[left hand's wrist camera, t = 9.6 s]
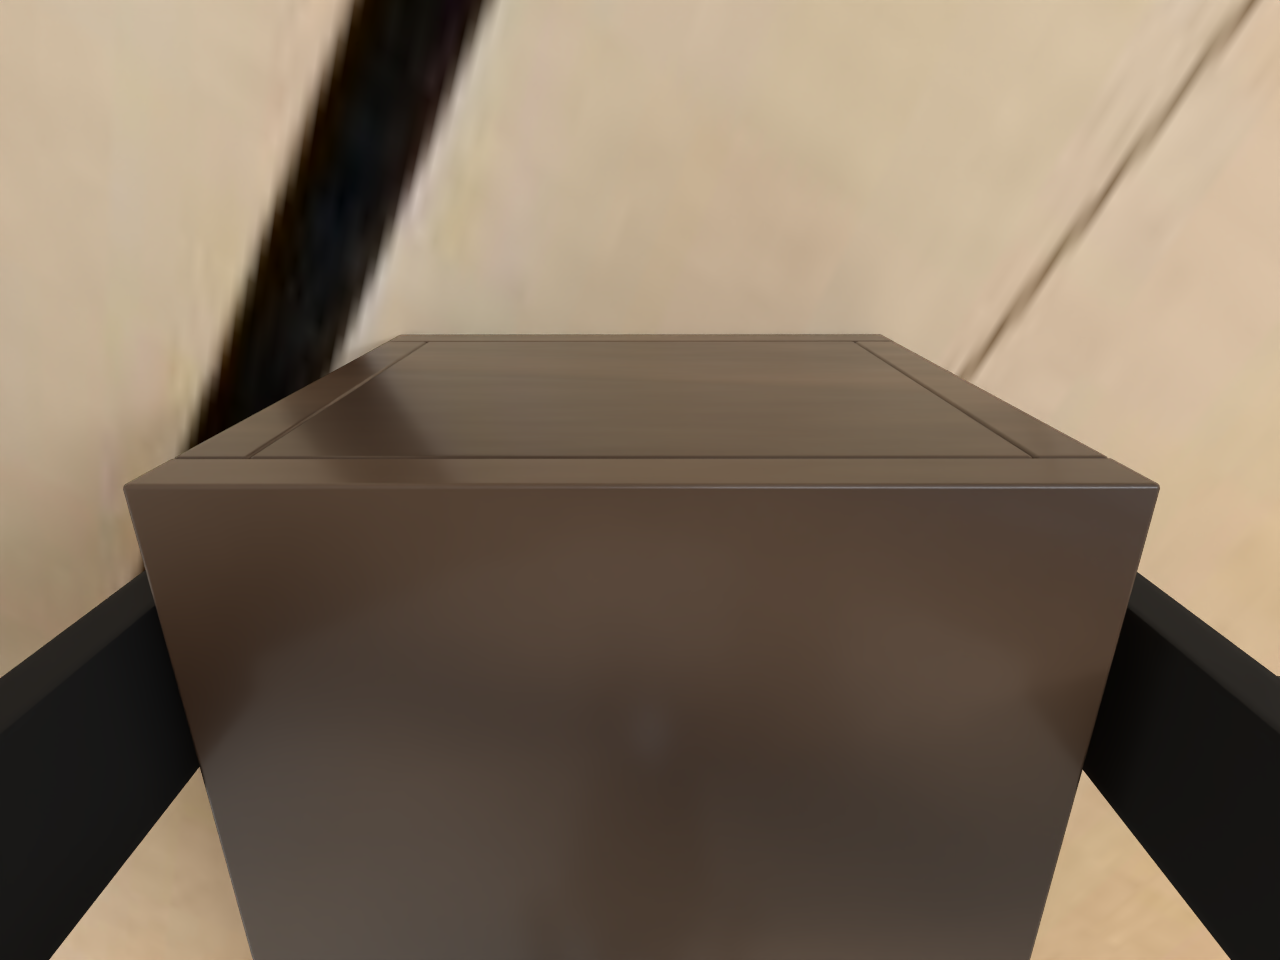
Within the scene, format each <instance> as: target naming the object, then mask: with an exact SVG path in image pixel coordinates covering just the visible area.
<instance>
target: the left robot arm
mask: <svg viewBox="0 0 1280 960" xmlns="http://www.w3.org/2000/svg"><path fill="white" fill-rule="evenodd" d="M199 767H200V766H199V762H198V758H197V755H196V751H195V747H194V744H193V740H192V737H191V733H190V729H189V726H188V722H187V718H186V715H185V711H184V708H183V704H182V700H181V697H180V693H179V689H178V686H177V682H176V678H175V675H174V671H173V668H172V664H171V660H170V657H169V653H168V649H167V646H166V642H165V639H164V635H163V631H162V628H161V624H160V620H159V617H158V613H157V610H156V606H155V602H154V599H153V595H152V591H151V588H150V584H149V581H148V577H147V573H146V570H145V571H144V572H142V573H141V574H140V575H138V576H137V577H135V578H134V579H133V580H131V581H130V582H129V583H127V584H126V585H125V586H123V587H122V588H121V589H119V590H118V591H117V592H115V593H114V594H113V595H111V596H110V597H109V598H107V599H106V600H105V601H103V602H102V603H101V604H99V605H98V606H97V607H95V608H94V609H93V610H91V611H90V612H89V613H87V614H86V615H85V616H83V617H82V618H81V619H79V620H78V621H76V622H75V623H74V624H72V625H71V626H70V627H68V628H67V629H66V630H64V631H63V632H62V633H60V634H59V635H58V636H56V637H55V638H54V639H52V640H51V641H50V642H48V643H47V644H46V645H44V646H43V647H42V648H40V649H39V650H38V651H36V652H35V653H34V654H32V655H31V656H30V657H28V658H27V659H26V660H24V661H23V662H22V663H20V664H19V665H18V666H16V667H15V668H13V669H12V670H11V671H9V672H8V673H7V674H5V675H4V676H3V677H1V678H0V960H49V959H50V958H51V957H52V955H53V954H54V953H55V952H56V950H57V949H58V948H59V946H60V945H61V944H62V943H63V941H64V940H65V939H66V937H67V936H68V935H69V934H70V932H71V931H72V930H73V928H74V927H75V926H76V925H77V923H78V922H79V921H80V919H81V918H82V917H83V916H84V914H85V913H86V912H87V910H88V909H89V908H90V907H91V905H92V904H93V903H94V901H95V900H96V899H97V898H98V896H99V895H100V894H101V892H102V891H103V890H104V889H105V887H106V886H107V885H108V883H109V882H110V881H111V880H112V878H113V877H114V876H115V874H116V873H117V872H118V871H119V869H120V868H121V867H122V866H123V864H124V863H125V862H126V860H127V859H128V858H129V857H130V855H131V854H132V853H133V851H134V850H135V849H136V848H137V846H138V845H139V844H140V842H141V841H142V840H143V839H144V837H145V836H146V835H147V833H148V832H149V831H150V830H151V828H152V827H153V826H154V824H155V823H156V822H157V821H158V819H159V818H160V817H161V815H162V814H163V813H164V812H165V810H166V809H167V808H168V806H169V805H170V804H171V803H172V801H173V800H174V799H175V797H176V796H177V795H178V794H179V792H180V791H181V790H182V788H183V787H184V786H185V785H186V783H187V782H188V781H189V779H190V778H191V777H192V776H193V774H194V773H195V772H196V771H197V769H198V768H199ZM1083 771H1084V772H1085V773H1086V774H1087V776H1088V777H1089V778H1090V779H1091V781H1092V782H1093V783H1094V785H1095V786H1096V787H1097V788H1098V790H1099V791H1100V792H1101V794H1102V795H1103V796H1104V797H1105V799H1106V800H1107V801H1108V803H1109V804H1110V805H1111V806H1112V808H1113V809H1114V810H1115V812H1116V813H1117V814H1118V815H1119V817H1120V818H1121V819H1122V821H1123V822H1124V823H1125V824H1126V826H1127V827H1128V828H1129V830H1130V831H1131V832H1132V833H1133V835H1134V836H1135V837H1136V839H1137V840H1138V841H1139V842H1140V844H1141V845H1142V846H1143V848H1144V849H1145V850H1146V851H1147V853H1148V854H1149V855H1150V857H1151V858H1152V859H1153V860H1154V862H1155V863H1156V864H1157V866H1158V867H1159V868H1160V869H1161V871H1162V872H1163V873H1164V874H1165V876H1166V877H1167V878H1168V880H1169V881H1170V882H1171V883H1172V885H1173V886H1174V887H1175V889H1176V890H1177V891H1178V892H1179V894H1180V895H1181V896H1182V898H1183V899H1184V900H1185V901H1186V903H1187V904H1188V905H1189V907H1190V908H1191V909H1192V910H1193V912H1194V913H1195V914H1196V916H1197V917H1198V918H1199V919H1200V921H1201V922H1202V923H1203V925H1204V926H1205V927H1206V928H1207V930H1208V931H1209V932H1210V934H1211V935H1212V936H1213V937H1214V939H1215V940H1216V941H1217V943H1218V944H1219V945H1220V946H1221V948H1222V949H1223V950H1224V952H1225V953H1226V954H1227V955H1228V957H1229V958H1230V959H1231V960H1280V676H1276V675H1275V674H1273V673H1272V672H1271V671H1269V670H1268V669H1267V668H1265V667H1264V666H1262V665H1261V664H1260V663H1258V662H1257V661H1256V660H1254V659H1253V658H1252V657H1250V656H1249V655H1248V654H1246V653H1245V652H1244V651H1242V650H1241V649H1240V648H1238V647H1237V646H1236V645H1234V644H1233V643H1232V642H1230V641H1229V640H1228V639H1226V638H1225V637H1224V636H1222V635H1221V634H1220V633H1218V632H1217V631H1216V630H1214V629H1213V628H1212V627H1210V626H1209V625H1208V624H1206V623H1205V622H1204V621H1202V620H1201V619H1199V618H1198V617H1197V616H1195V615H1194V614H1193V613H1191V612H1190V611H1189V610H1187V609H1186V608H1185V607H1183V606H1182V605H1181V604H1179V603H1178V602H1177V601H1175V600H1174V599H1173V598H1171V597H1170V596H1169V595H1167V594H1166V593H1165V592H1163V591H1162V590H1161V589H1159V588H1158V587H1157V586H1155V585H1154V584H1153V583H1151V582H1150V581H1149V580H1147V579H1146V578H1145V577H1143V576H1142V575H1140V574H1139V573H1138V572H1137V573H1136V577H1135V580H1134V584H1133V588H1132V591H1131V595H1130V598H1129V602H1128V606H1127V609H1126V613H1125V617H1124V620H1123V624H1122V627H1121V631H1120V635H1119V638H1118V642H1117V646H1116V649H1115V653H1114V656H1113V660H1112V664H1111V667H1110V671H1109V675H1108V678H1107V682H1106V685H1105V689H1104V693H1103V696H1102V700H1101V704H1100V707H1099V711H1098V715H1097V718H1096V722H1095V725H1094V729H1093V733H1092V736H1091V740H1090V744H1089V747H1088V751H1087V754H1086V758H1085V762H1084V765H1083Z"/></svg>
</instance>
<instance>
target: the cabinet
mask: <svg viewBox="0 0 1280 960" xmlns="http://www.w3.org/2000/svg"><path fill="white" fill-rule="evenodd" d="M123 490H124V494H125V497H126V501H127V504H128V508H129V512H130V515H131V519H132V523H133V526H134V530H135V533H136V537H137V541H138V544H139V548H140V552H141V555H142V559H143V562H144V566H145V570H146V573H147V577H148V581H149V584H150V588H151V591H152V595H153V599H154V602H155V606H156V610H157V613H158V617H159V620H160V624H161V628H162V631H163V635H164V639H165V642H166V646H167V649H168V653H169V657H170V660H171V664H172V668H173V671H174V675H175V678H176V682H177V686H178V689H179V693H180V697H181V700H182V704H183V708H184V711H185V715H186V718H187V722H188V726H189V729H190V733H191V737H192V740H193V744H194V747H195V751H196V755H197V758H198V762H199V766H200V769H201V773H202V776H203V780H204V784H205V787H206V791H207V795H208V798H209V802H210V805H211V809H212V813H213V816H214V820H215V824H216V827H217V831H218V834H219V838H220V842H221V845H222V849H223V853H224V856H225V860H226V863H227V867H228V871H229V874H230V878H231V882H232V885H233V889H234V892H235V896H236V900H237V903H238V907H239V911H240V914H241V918H242V922H243V925H244V929H245V932H246V936H247V940H248V943H249V947H250V951H251V954H252V958H253V960H1030V958H1031V954H1032V950H1033V947H1034V943H1035V939H1036V936H1037V932H1038V929H1039V925H1040V921H1041V918H1042V914H1043V910H1044V907H1045V903H1046V900H1047V896H1048V892H1049V889H1050V885H1051V881H1052V878H1053V874H1054V871H1055V867H1056V863H1057V860H1058V856H1059V852H1060V849H1061V845H1062V841H1063V838H1064V834H1065V831H1066V827H1067V823H1068V820H1069V816H1070V812H1071V809H1072V805H1073V802H1074V798H1075V794H1076V791H1077V787H1078V783H1079V780H1080V776H1081V773H1082V769H1083V765H1084V762H1085V758H1086V754H1087V751H1088V747H1089V744H1090V740H1091V736H1092V733H1093V729H1094V725H1095V722H1096V718H1097V715H1098V711H1099V707H1100V704H1101V700H1102V696H1103V693H1104V689H1105V685H1106V682H1107V678H1108V675H1109V671H1110V667H1111V664H1112V660H1113V656H1114V653H1115V649H1116V646H1117V642H1118V638H1119V635H1120V631H1121V627H1122V624H1123V620H1124V617H1125V613H1126V609H1127V606H1128V602H1129V598H1130V595H1131V591H1132V588H1133V584H1134V580H1135V577H1136V573H1137V569H1138V566H1139V562H1140V559H1141V555H1142V551H1143V548H1144V544H1145V540H1146V537H1147V533H1148V529H1149V526H1150V522H1151V519H1152V515H1153V511H1154V508H1155V504H1156V500H1157V497H1158V493H1159V490H1160V486H1159V484H1157V483H1156V482H1154V481H1152V480H1150V479H1148V478H1146V477H1145V476H1143V475H1141V474H1139V473H1137V472H1135V471H1133V470H1132V469H1130V468H1128V467H1126V466H1124V465H1122V464H1120V463H1119V462H1117V461H1115V460H1113V459H1111V458H1107V457H1106V456H1105V455H1103V454H1101V453H1099V452H1097V451H1095V450H1093V449H1092V448H1090V447H1088V446H1086V445H1084V444H1082V443H1081V442H1079V441H1077V440H1075V439H1073V438H1071V437H1069V436H1068V435H1066V434H1064V433H1062V432H1060V431H1058V430H1056V429H1055V428H1053V427H1051V426H1049V425H1047V424H1045V423H1044V422H1042V421H1040V420H1038V419H1036V418H1034V417H1032V416H1031V415H1029V414H1027V413H1025V412H1023V411H1021V410H1019V409H1018V408H1016V407H1014V406H1012V405H1010V404H1008V403H1006V402H1005V401H1003V400H1001V399H999V398H997V397H995V396H994V395H992V394H990V393H988V392H986V391H984V390H982V389H981V388H979V387H977V386H975V385H973V384H971V383H969V382H968V381H966V380H964V379H962V378H960V377H958V376H956V375H955V374H953V373H951V372H949V371H947V370H945V369H944V368H942V367H940V366H938V365H936V364H934V363H932V362H931V361H929V360H927V359H925V358H923V357H921V356H919V355H918V354H916V353H914V352H912V351H910V350H908V349H906V348H905V347H903V346H901V345H899V344H897V343H895V342H893V341H892V340H890V339H888V338H886V337H885V336H883V335H880V334H849V335H399V336H398V337H396V338H394V339H392V340H390V341H388V342H387V343H385V344H383V345H381V346H379V347H377V348H375V349H374V350H372V351H370V352H368V353H366V354H364V355H363V356H361V357H359V358H357V359H355V360H353V361H352V362H350V363H348V364H346V365H344V366H342V367H341V368H339V369H337V370H335V371H333V372H331V373H330V374H328V375H326V376H324V377H322V378H320V379H318V380H317V381H315V382H313V383H311V384H309V385H307V386H306V387H304V388H302V389H300V390H298V391H296V392H295V393H293V394H291V395H289V396H287V397H285V398H284V399H282V400H280V401H278V402H276V403H274V404H273V405H271V406H269V407H267V408H265V409H263V410H261V411H260V412H258V413H256V414H254V415H252V416H250V417H249V418H247V419H245V420H243V421H241V422H239V423H238V424H236V425H234V426H232V427H230V428H228V429H227V430H225V431H223V432H221V433H219V434H217V435H216V436H214V437H212V438H210V439H208V440H206V441H204V442H203V443H201V444H199V445H197V446H195V447H193V448H192V449H190V450H188V451H186V452H184V453H182V454H181V455H179V456H177V457H175V459H171V460H169V461H167V462H166V463H164V464H162V465H160V466H158V467H156V468H155V469H153V470H151V471H149V472H147V473H145V474H143V475H142V476H140V477H138V478H136V479H134V480H132V481H131V482H129V483H127V484H125V485H124V488H123Z"/></svg>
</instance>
